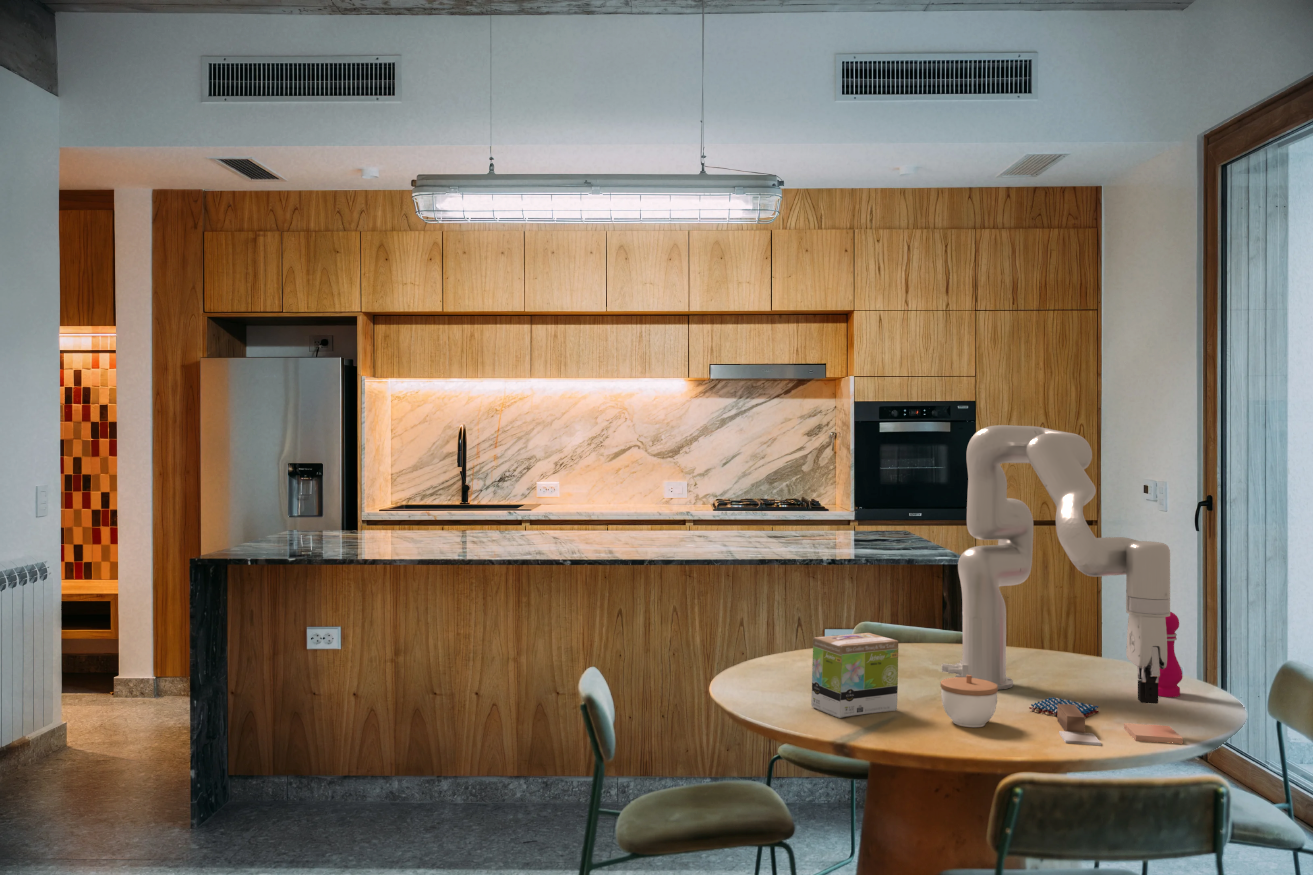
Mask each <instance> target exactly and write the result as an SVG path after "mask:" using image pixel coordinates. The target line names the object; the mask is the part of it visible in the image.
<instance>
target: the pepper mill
mask: <svg viewBox="0 0 1313 875" xmlns="http://www.w3.org/2000/svg"><path fill="white" fill-rule="evenodd" d="M1165 620H1166V633H1167V666H1166V668H1164V669H1161V668H1160V677H1159V681H1158V697H1163V698H1178V697H1180V696H1181V688H1180V686H1178V684H1179V683H1181V681H1182V680H1183V677H1184V676H1183V670H1182V667H1181V665H1180V663H1179V661H1178V659H1177V657H1176V653H1175V641H1177V636H1178V635H1177V632H1176V631H1178V629H1179V628H1180V620H1179V618H1178V616H1177V614H1175V613H1174V612H1172V611H1170V616H1168V617H1165Z"/></svg>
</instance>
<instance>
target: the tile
mask: <svg viewBox="0 0 1313 875" xmlns="http://www.w3.org/2000/svg"><path fill="white" fill-rule="evenodd" d="M1123 730H1125V731H1126V733H1127V734H1128V735H1129V736H1130V737H1131V736H1132V737H1131V739H1133V738H1134V739H1133V740H1134V741H1135V742H1143V741H1145V742H1146V743H1147V742H1148V743H1158V742H1166V743H1165V744H1168V743H1167V742H1170V743H1169V744H1174V743H1183V744H1184V739H1183V737H1182V736H1181V735H1179V733H1178V732H1177V731H1175V730H1174V729H1173V728H1172V727H1171V726H1169V725H1161V724H1160V725H1159V724H1143V723H1130V722H1124V723H1123ZM1172 742H1173V743H1172Z"/></svg>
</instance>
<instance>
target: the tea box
mask: <svg viewBox="0 0 1313 875" xmlns="http://www.w3.org/2000/svg"><path fill="white" fill-rule="evenodd" d="M812 640H813V641H812V663H811V664H812V667H811V668H812V669H811V671H812V672H811V704H810V705H811V707H812V708H814V709H815V710H816V709H817V710H819V711H821V712H823V713H826V714H828V715H831V716H833V717H835V718H838V719H842V718H843V719H844V718H845V717H846V718H847V717H853V716H861V715H868V714H875V713H884V712H896V711H897V710H898V690H899V689H898V684H899V640H897V639H893V638H889V637H885V636H882V635H879V634H875V633H871V632H864V633H863V632H861V633H850V634H848V633H847V634H840V635H839V634H838V635H827V636H816V637H813V638H812Z"/></svg>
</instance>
